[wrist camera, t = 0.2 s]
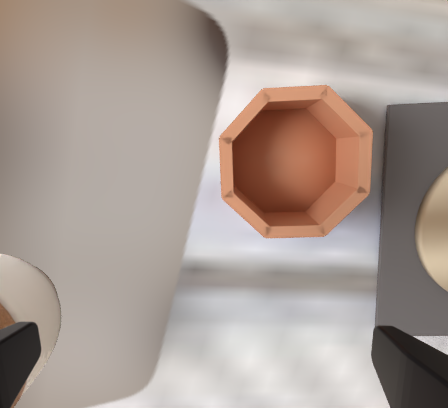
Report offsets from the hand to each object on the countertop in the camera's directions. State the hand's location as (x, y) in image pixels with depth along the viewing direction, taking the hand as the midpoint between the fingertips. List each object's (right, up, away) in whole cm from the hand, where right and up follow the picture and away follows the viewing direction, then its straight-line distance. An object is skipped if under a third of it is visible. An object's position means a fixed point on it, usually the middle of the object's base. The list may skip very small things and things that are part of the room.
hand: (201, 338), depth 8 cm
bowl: (+5, +7, +13) cm, 16 cm away
